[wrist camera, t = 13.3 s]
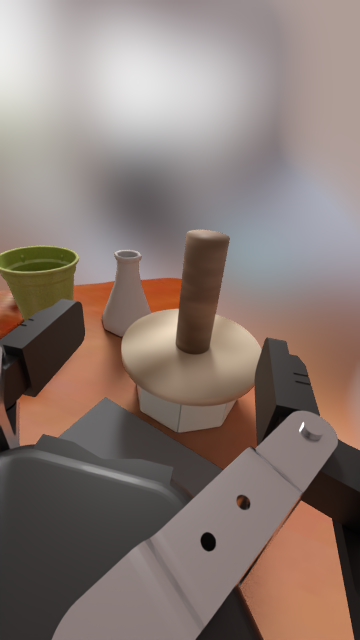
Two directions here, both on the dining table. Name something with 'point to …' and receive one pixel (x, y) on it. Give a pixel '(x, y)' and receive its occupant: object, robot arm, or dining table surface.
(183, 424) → the bowl
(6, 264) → the plant pot
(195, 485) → the mat
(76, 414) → the dining table surface
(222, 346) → the lid
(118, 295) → the flask
